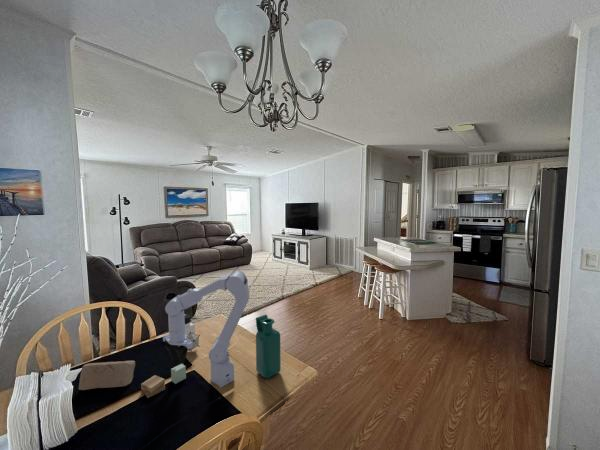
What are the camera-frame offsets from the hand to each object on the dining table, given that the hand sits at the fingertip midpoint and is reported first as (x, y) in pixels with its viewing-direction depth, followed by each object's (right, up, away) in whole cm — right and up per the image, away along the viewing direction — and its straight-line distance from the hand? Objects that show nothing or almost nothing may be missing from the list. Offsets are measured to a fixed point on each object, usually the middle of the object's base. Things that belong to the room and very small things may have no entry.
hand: (178, 361), depth 103 cm
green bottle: (+35, -7, +6) cm, 36 cm away
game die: (-4, -6, +20) cm, 21 cm away
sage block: (0, -8, +1) cm, 8 cm away
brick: (-25, -8, -3) cm, 27 cm away
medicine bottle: (-12, -5, +33) cm, 35 cm away
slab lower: (-7, -9, -5) cm, 12 cm away
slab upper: (-7, -7, -5) cm, 11 cm away
